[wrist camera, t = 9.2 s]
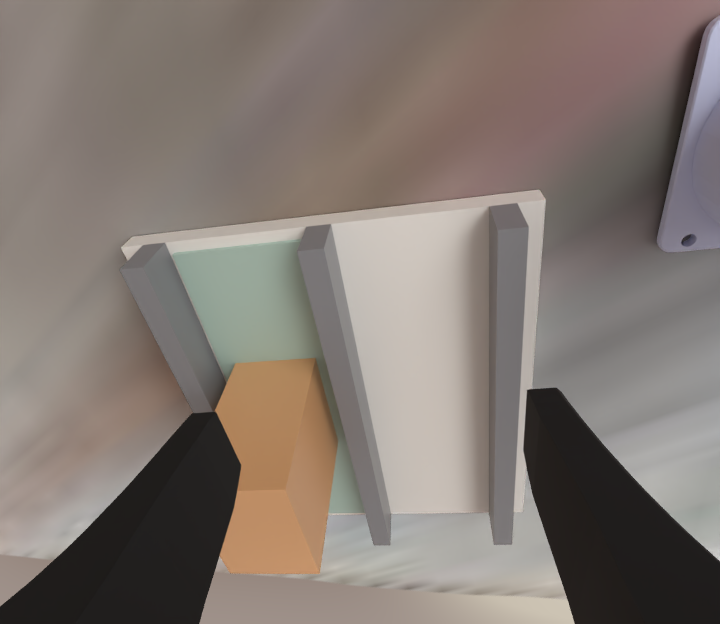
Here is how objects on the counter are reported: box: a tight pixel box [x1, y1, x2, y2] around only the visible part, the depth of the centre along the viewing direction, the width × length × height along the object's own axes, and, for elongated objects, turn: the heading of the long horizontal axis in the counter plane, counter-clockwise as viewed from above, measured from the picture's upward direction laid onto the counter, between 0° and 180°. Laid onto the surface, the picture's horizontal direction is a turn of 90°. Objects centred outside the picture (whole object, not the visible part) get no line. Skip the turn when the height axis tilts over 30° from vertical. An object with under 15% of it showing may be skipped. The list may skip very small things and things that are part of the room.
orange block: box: [215, 358, 338, 574], centre depth 21 cm, size 4×6×7 cm, turn 9°
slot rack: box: [120, 190, 546, 545], centre depth 24 cm, size 17×20×3 cm
